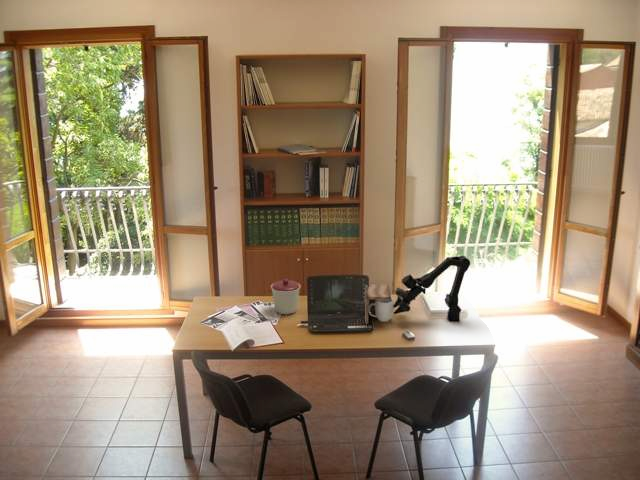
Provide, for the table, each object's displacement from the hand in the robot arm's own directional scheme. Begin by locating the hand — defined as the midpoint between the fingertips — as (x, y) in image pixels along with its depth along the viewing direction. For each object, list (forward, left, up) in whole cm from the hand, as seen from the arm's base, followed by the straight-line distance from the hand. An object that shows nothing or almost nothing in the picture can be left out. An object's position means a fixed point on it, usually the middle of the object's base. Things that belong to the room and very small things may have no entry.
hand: (393, 310), depth 359 cm
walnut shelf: (+10, -1, -6) cm, 12 cm away
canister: (+65, -11, -7) cm, 66 cm away
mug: (+7, -1, -7) cm, 9 cm away
